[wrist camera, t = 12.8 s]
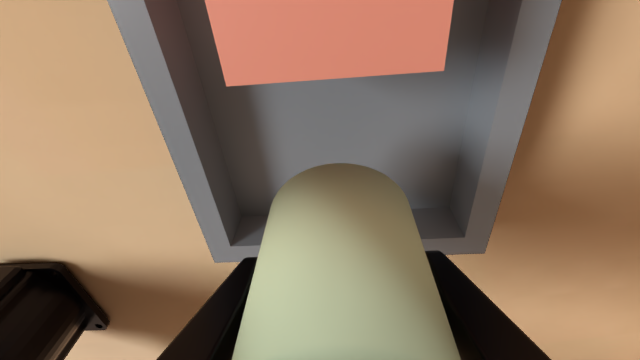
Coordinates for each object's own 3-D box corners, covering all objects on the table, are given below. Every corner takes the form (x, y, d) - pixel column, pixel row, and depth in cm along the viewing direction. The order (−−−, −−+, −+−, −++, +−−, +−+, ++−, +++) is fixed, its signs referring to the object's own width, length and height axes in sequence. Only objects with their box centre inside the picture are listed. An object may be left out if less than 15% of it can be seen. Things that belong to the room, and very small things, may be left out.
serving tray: (463, 213, 15) (484, 253, 13) (230, 224, 16) (214, 262, 14) (576, -285, 7) (681, -395, 5) (86, -208, 8) (-4, -272, 6)
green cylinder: (405, 267, 11) (452, 453, 7) (281, 271, 11) (251, 451, 7) (417, 158, 8) (503, 345, 4) (256, 167, 9) (187, 350, 4)
